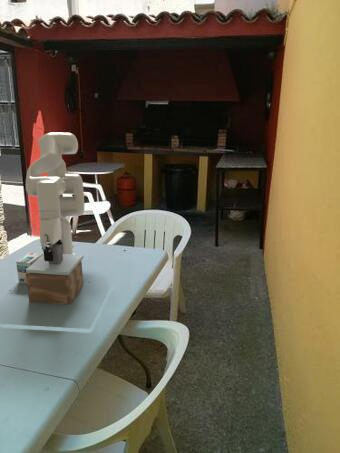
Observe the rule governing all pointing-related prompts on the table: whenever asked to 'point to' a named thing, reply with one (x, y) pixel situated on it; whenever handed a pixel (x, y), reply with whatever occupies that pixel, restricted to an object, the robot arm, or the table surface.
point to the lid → (55, 263)
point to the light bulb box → (26, 265)
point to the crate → (54, 286)
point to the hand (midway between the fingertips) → (53, 256)
